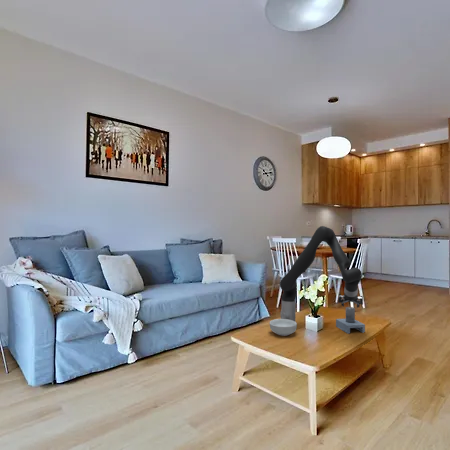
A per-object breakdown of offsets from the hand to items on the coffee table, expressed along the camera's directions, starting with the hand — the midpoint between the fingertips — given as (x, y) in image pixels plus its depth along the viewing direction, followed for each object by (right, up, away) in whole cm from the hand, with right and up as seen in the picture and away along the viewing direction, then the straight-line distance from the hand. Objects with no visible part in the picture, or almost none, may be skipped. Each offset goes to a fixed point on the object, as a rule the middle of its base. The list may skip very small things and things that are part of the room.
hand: (350, 305), depth 195 cm
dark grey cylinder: (+2, -12, +5) cm, 13 cm away
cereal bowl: (-43, -17, -3) cm, 47 cm away
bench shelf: (+2, -17, +5) cm, 18 cm away
